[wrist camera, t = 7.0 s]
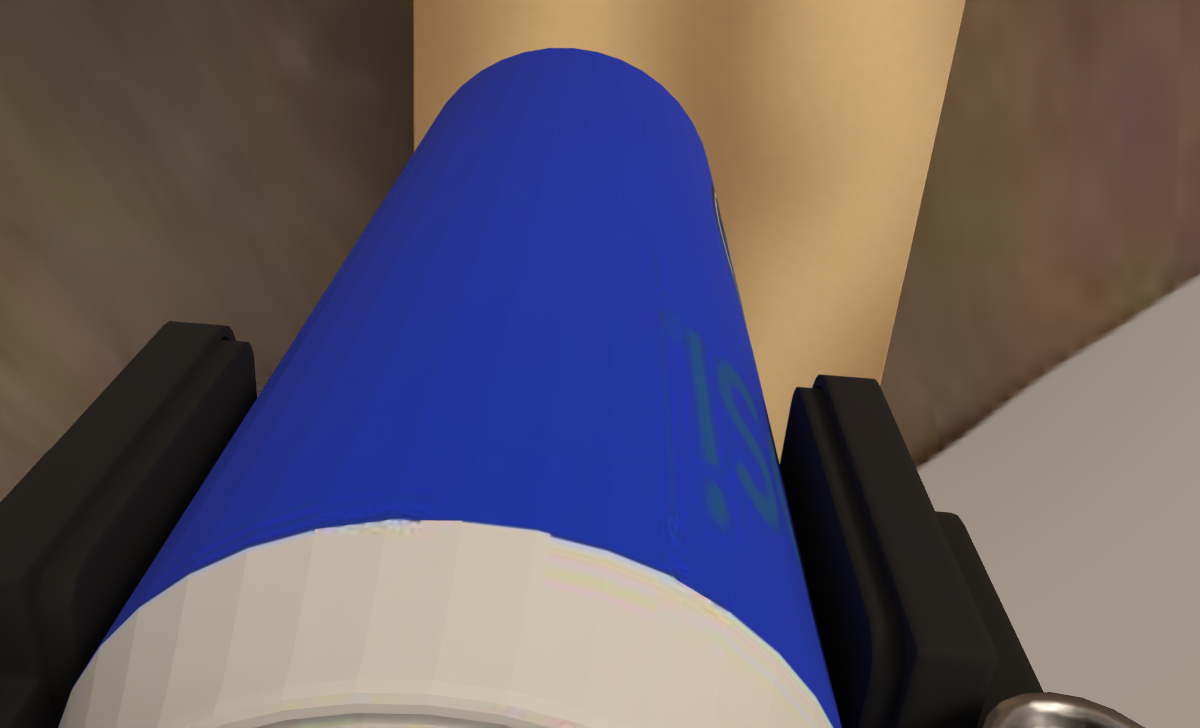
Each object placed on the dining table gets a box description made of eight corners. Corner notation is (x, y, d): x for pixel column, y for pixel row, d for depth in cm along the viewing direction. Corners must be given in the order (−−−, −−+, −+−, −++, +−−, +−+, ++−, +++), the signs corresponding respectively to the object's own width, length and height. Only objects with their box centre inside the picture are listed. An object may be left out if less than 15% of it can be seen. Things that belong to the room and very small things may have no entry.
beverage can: (613, 362, 21) (588, 1313, 8) (375, 230, 20) (-139, 1074, 7) (766, 141, 19) (1096, 908, 6) (510, -20, 18) (164, 462, 4)
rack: (448, 353, 38) (413, 460, 31) (454, -115, 31) (412, -96, 25) (817, 381, 38) (856, 494, 32) (905, -77, 31) (977, -49, 25)
